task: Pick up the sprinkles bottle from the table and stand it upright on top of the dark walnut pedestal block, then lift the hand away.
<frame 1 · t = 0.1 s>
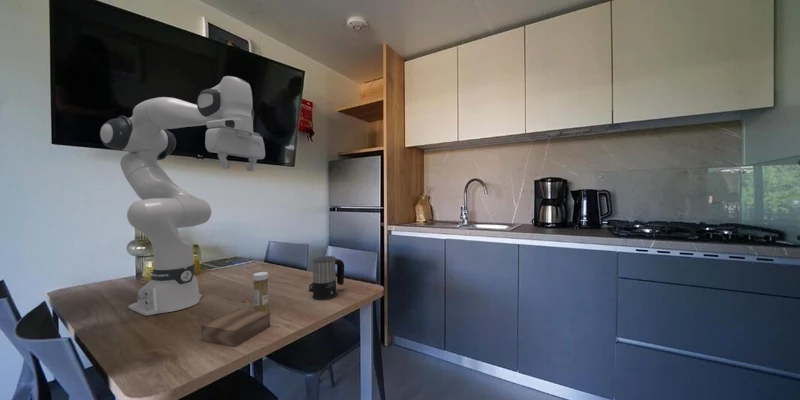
hand: (238, 169, 93), 48 cm above the table, tool pointing down, fingers open, 8 cm apart
milk frother: (321, 293, 114), on the table
walnut pedestal: (237, 332, 81), on the table
sprinkles bottle: (261, 313, 94), on the table
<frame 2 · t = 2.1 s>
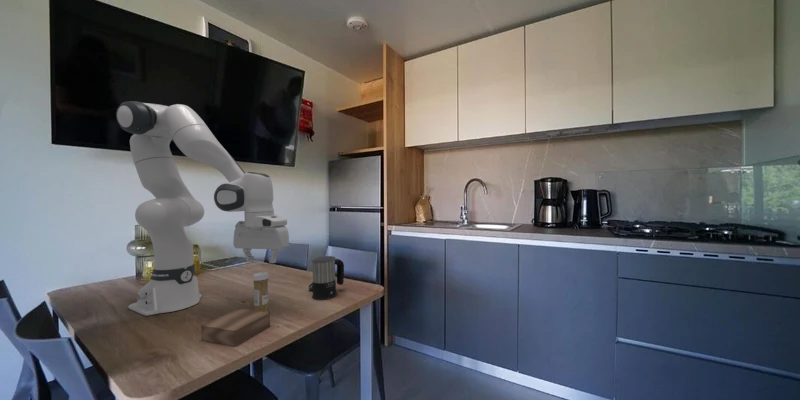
hand: (261, 262, 94), 17 cm above the table, tool pointing down, fingers open, 8 cm apart
nothing on the table moved.
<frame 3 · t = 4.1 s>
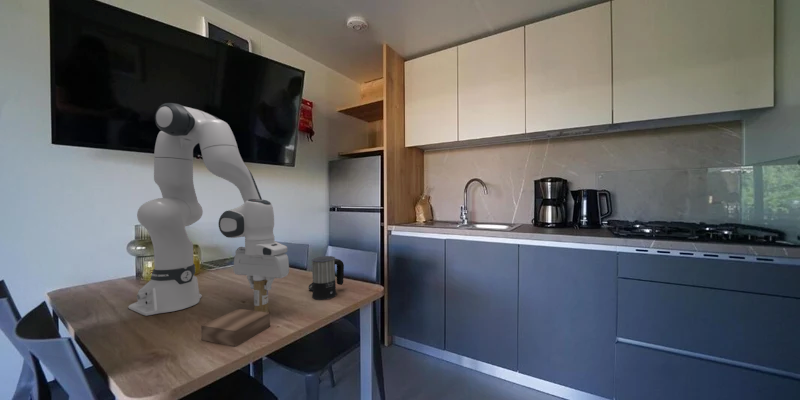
hand: (260, 289, 94), 8 cm above the table, tool pointing down, fingers closed on sprinkles bottle, 4 cm apart
sprinkles bottle: (261, 313, 94), on the table, touching gripper
everything else where it was.
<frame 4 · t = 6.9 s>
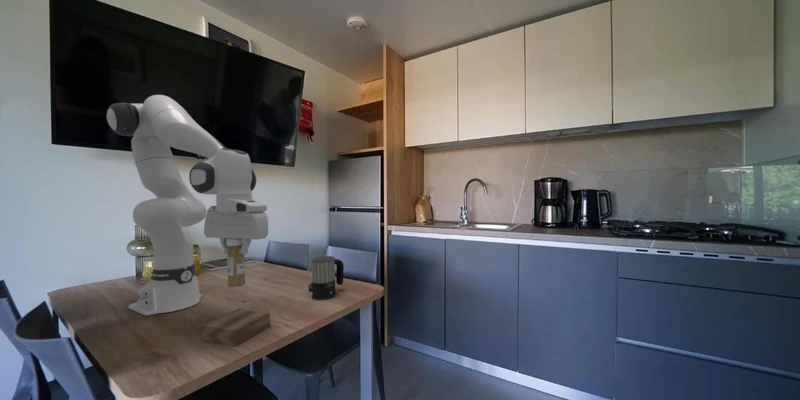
hand: (235, 254, 81), 23 cm above the table, tool pointing down, fingers closed on sprinkles bottle, 4 cm apart
sprinkles bottle: (236, 286, 81), point 13 cm above the table, touching gripper
everything else where it was.
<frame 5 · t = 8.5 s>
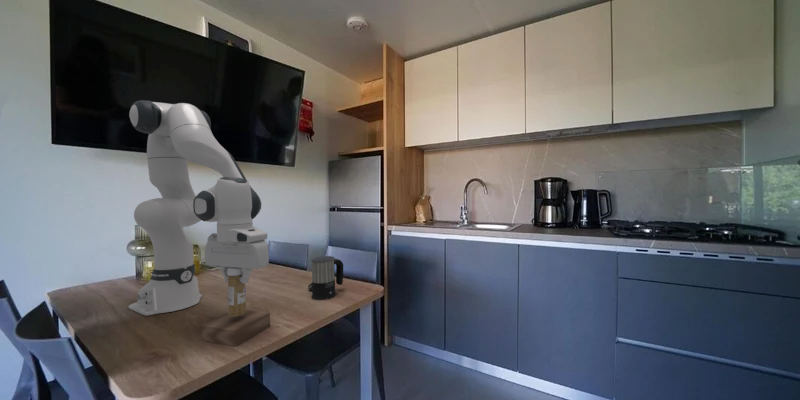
hand: (236, 282, 81), 14 cm above the table, tool pointing down, fingers closed on sprinkles bottle, 4 cm apart
sprinkles bottle: (237, 314, 81), point 5 cm above the table, touching gripper
everything else where it was.
when the fingers open (13 cm above the table, at t = 9.7 s): sprinkles bottle stays where it is, resting on walnut pedestal.
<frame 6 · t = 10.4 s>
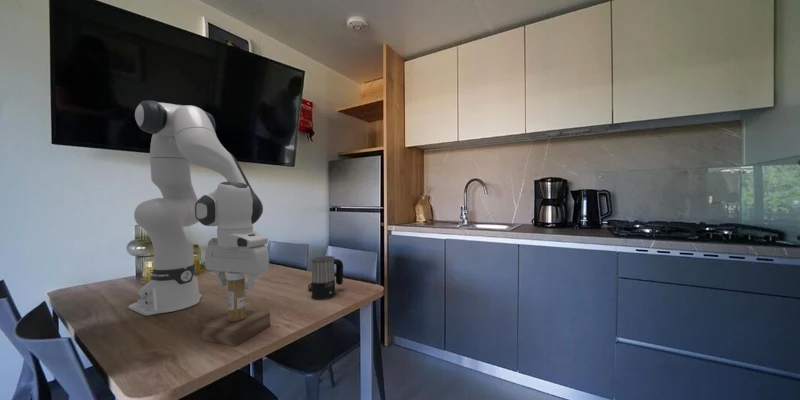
hand: (236, 287, 81), 13 cm above the table, tool pointing down, fingers open, 8 cm apart
sprinkles bottle: (237, 319, 81), point 4 cm above the table, touching walnut pedestal
everything else where it was.
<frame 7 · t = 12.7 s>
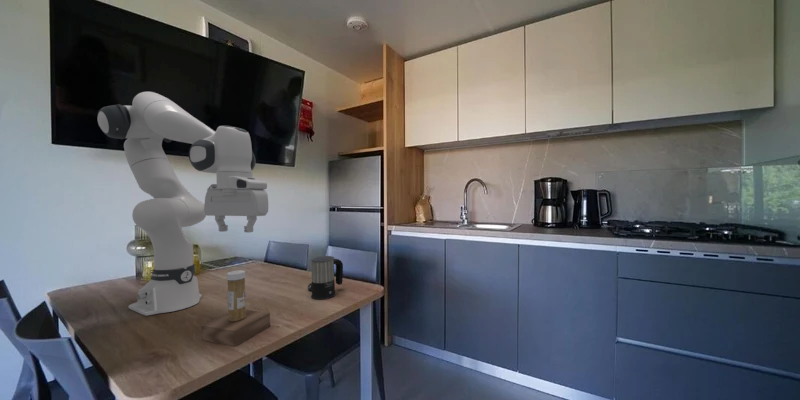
hand: (235, 231, 81), 29 cm above the table, tool pointing down, fingers open, 8 cm apart
nothing on the table moved.
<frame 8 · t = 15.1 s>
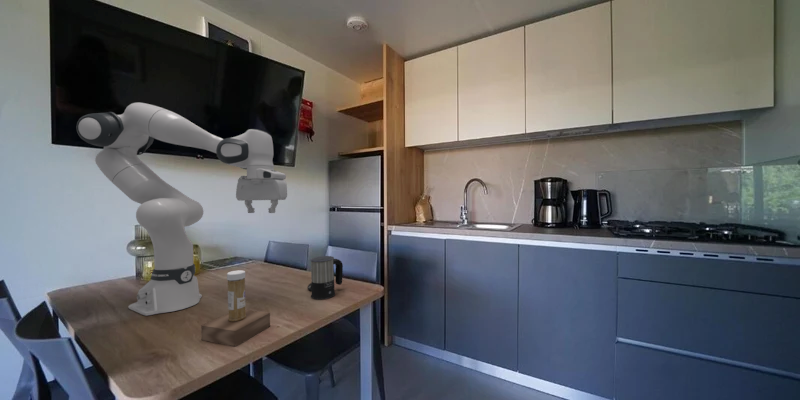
hand: (261, 213, 103), 33 cm above the table, tool pointing down, fingers open, 8 cm apart
nothing on the table moved.
at the end: sprinkles bottle inside the target area on the walnut pedestal (0.1 cm from its centre), point 3.8 cm above the walnut pedestal's base; sprinkles bottle tilted 0°; the gripper is holding nothing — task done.
